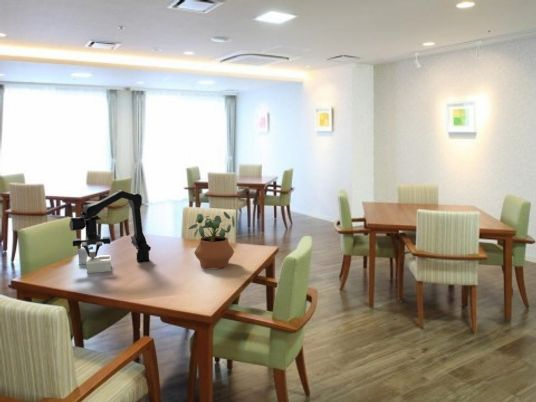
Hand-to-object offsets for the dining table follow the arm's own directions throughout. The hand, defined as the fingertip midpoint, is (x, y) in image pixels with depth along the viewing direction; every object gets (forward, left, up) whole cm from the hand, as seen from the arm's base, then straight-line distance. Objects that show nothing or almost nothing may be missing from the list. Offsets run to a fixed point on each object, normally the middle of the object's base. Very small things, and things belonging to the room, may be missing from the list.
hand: (92, 257), depth 240 cm
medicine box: (+4, -16, -7) cm, 18 cm away
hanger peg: (0, 0, -4) cm, 5 cm away
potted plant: (-62, +10, -7) cm, 63 cm away
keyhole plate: (-3, 0, -7) cm, 8 cm away
